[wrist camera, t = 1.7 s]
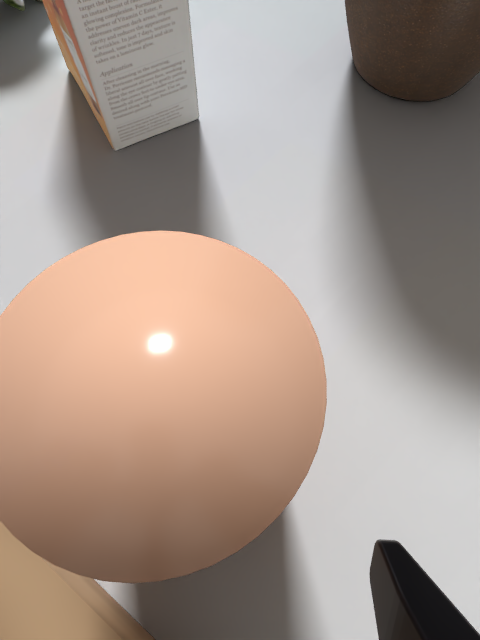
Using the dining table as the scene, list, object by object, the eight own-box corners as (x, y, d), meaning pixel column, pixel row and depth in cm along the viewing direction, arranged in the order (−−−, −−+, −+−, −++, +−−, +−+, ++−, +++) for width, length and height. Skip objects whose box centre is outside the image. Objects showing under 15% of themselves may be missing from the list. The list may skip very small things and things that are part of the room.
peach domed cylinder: (212, 582, 18) (164, 687, 7) (90, 473, 19) (-110, 411, 8) (308, 443, 20) (393, 349, 9) (191, 354, 21) (138, 181, 10)
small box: (67, 68, 29) (-21, -157, 19) (148, 40, 30) (105, -187, 20) (113, 155, 26) (39, -57, 17) (202, 121, 27) (180, -98, 18)
